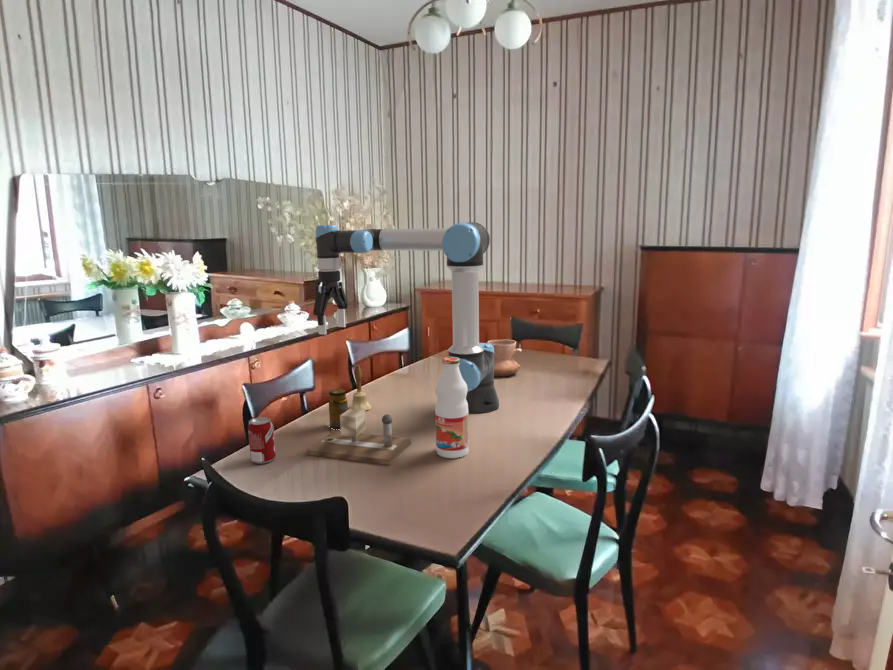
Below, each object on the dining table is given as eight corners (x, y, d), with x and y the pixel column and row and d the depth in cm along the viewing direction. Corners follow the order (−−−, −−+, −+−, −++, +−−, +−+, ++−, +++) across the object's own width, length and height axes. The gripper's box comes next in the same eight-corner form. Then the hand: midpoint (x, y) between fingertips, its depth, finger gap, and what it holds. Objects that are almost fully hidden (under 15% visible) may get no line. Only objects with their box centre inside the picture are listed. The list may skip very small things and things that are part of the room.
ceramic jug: (523, 370, 257) (523, 338, 254) (519, 379, 243) (519, 345, 240) (483, 369, 261) (482, 338, 258) (476, 378, 247) (476, 344, 245)
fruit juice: (475, 452, 170) (474, 358, 164) (452, 462, 164) (450, 364, 158) (453, 443, 177) (451, 352, 171) (429, 452, 170) (427, 358, 165)
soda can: (262, 467, 163) (258, 426, 160) (245, 462, 166) (242, 421, 164) (280, 458, 168) (277, 418, 166) (264, 453, 172) (261, 414, 169)
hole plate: (411, 443, 177) (410, 407, 175) (389, 465, 163) (388, 425, 160) (334, 435, 185) (332, 400, 183) (307, 454, 171) (304, 416, 168)
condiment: (346, 421, 198) (344, 386, 195) (354, 429, 190) (352, 393, 188) (325, 424, 195) (323, 390, 192) (332, 433, 187) (329, 397, 185)
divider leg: (366, 438, 176) (364, 410, 174) (356, 446, 171) (355, 417, 169) (351, 436, 178) (349, 409, 176) (341, 444, 172) (339, 415, 170)
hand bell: (367, 412, 206) (365, 368, 203) (345, 411, 208) (342, 367, 204) (375, 405, 214) (373, 362, 211) (353, 404, 216) (351, 361, 212)
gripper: (336, 266, 216) (340, 323, 220) (299, 273, 193) (304, 337, 197) (355, 266, 214) (358, 324, 218) (319, 273, 191) (323, 338, 195)
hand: (332, 330), depth 208 cm, fingers open, 13 cm apart
